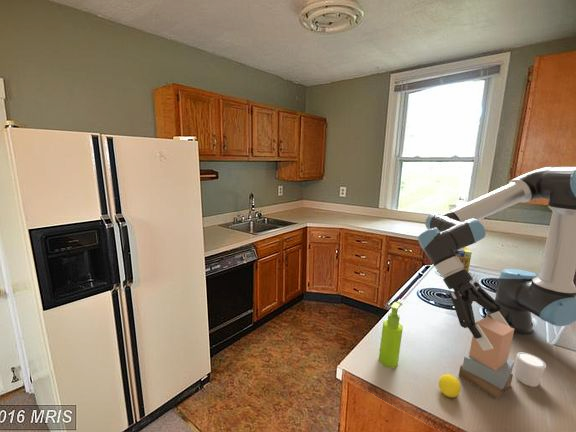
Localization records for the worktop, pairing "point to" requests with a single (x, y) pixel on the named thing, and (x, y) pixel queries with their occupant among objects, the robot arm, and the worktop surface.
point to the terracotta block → (493, 343)
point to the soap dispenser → (391, 338)
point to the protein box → (464, 257)
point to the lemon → (449, 385)
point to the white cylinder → (529, 369)
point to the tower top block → (489, 371)
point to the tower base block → (484, 383)
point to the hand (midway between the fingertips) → (499, 341)
